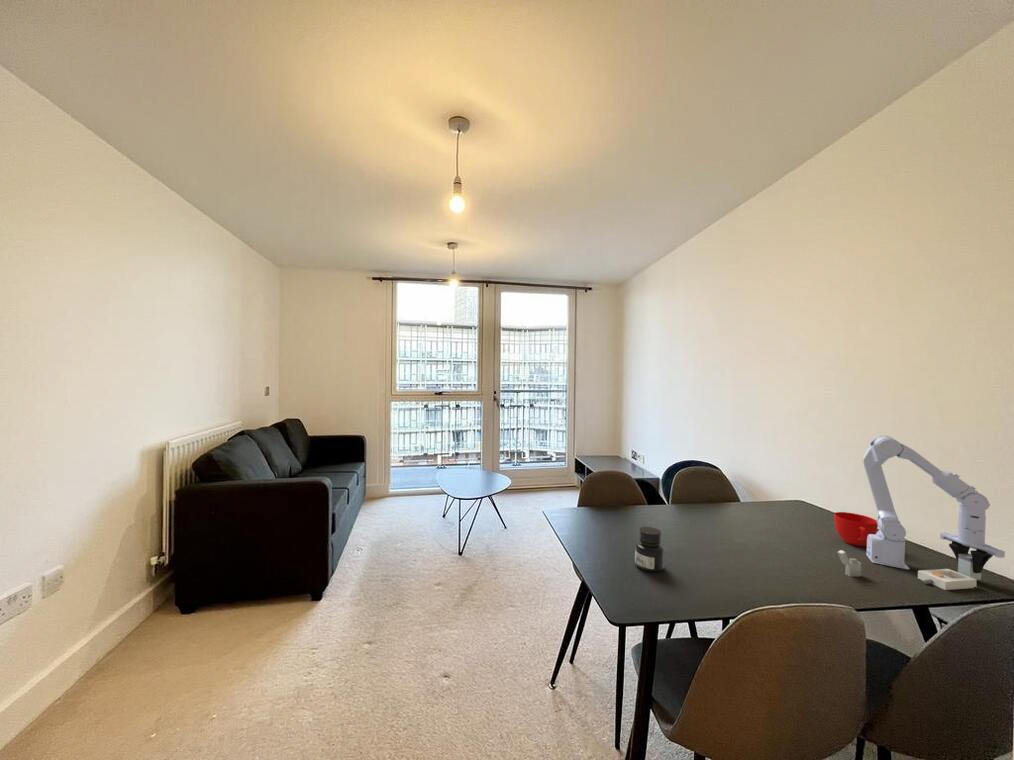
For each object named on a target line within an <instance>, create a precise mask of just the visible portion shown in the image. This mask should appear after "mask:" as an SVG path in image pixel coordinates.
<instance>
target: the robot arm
mask: <svg viewBox="0 0 1014 760" xmlns="http://www.w3.org/2000/svg"><path fill="white" fill-rule="evenodd" d="M868 445H869V446H868V447H867V450H866V451H865V453H864V455H863V457H862V464H863V467H864V470H865V474H866V477H867V480H868V483H869V487H870V491H871V494H872V497H873V500H874V501H873V502H874V504H875V507H876V513H877V519H876V520H877V525H878V529H879V530H877V533H876V534H868V536H867V545H866V554H865V555H866V557H867V558H868V559H869V560H870V562H871V563H874V564H878V565H882V566H883V565H884V566H888V567H893V568H898V569H903V570H907V571H908V570H910V567H909V566H908V565H907V564H906V563H905V552H906V550H905V548H906V538H905V537H906V535H907V531H906V529H905V527H904V526H903V525H902V524H901V521H900V520H899V517H898V515H897V512H896V510H895V506H894V504H893V500H892V497H891V493H890V490H889V487H888V483H887V480H886V476H885V473H884V470H883V467H882V465H883V464H884V463H885V462H887V461H888V460H889V459H891V458H895V457H897V458H898V459H903V460H908V461H909V462H911V463H912V464H914V465H915V466H916V467H918V468H919V469H921V470H922V471H923V472H925V473H926V474H928V475H930V477H932V478H931V479H932V480H931V481H932V483H933V484H934V485H936V486H937V487H939V488H940V489H941V490H942V491H944V492H945V493H946V494H948V495H949V496H950V497H951V498H954V499H956V501H957V503H959V505H958V511H957V513H958V515H957V533H956V534H957V535H956V534H951V533H948V532H940V533H939V534H940V535H939V536H940V537H939V539H941V540H947V541H948V542H951V543H949V544H948V547H949V548H950V550H951V551H952V553H953V554H954V556H955V558H956V561H957V563H958V556H959V554H969V552H970V554H971V555H972V559H973V572H974V573H981V574H982V572H981V571H983V568H984V567H985V565H986V564H987V562H989V560H990V559H991V558H993V556H994V557H996V558H1000V559H1002V558H1005V553H1006V552H1005V551H1004V550H1001V549H999V548H996V547H994V546H991V545H989V544H987V543H985V541H986V518H987V517H986V510H988V509H989V508H990V506H991V503H990V502H989V499H988V498H987V497H986V496H985V495H983V494H982V493H980V492H978V490H976V489H977V488H976V487H974V486H973V485H969V484H968V483H967V482H965V481H964V480H962V479H961V478H960V477H961V476H960V475H959V474H958V473H955V472H954V473H953V472H951V471H950V470H949V471H948V470H942V469H940V468H938V467H937V466H935V465H934V464H933V463H931V462H930V461H929V460H927V459H926V458H925V457H923V456H922V455H921V454H920V453H919V452H917V451H916V450H914V449H913V448H911V447H909V446H907V445H906V444H903V442H902V443H901V442H900V441H898V440H896V439H894V438H893V437H891V436H888V435H879V436H877V437H875V438H874V439H873V440H871V441H870V442H869V444H868ZM970 549H973V550H970Z"/></svg>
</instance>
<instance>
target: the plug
mask: <svg viewBox="0 0 1014 760" xmlns="http://www.w3.org/2000/svg"><path fill="white" fill-rule="evenodd" d="M982 571H983V570H982ZM982 571H981V573H974V572H973V559H972V555H971V553H968V554H959V556H958V562H957V572H958V573H960V574H963V575H966V576H968V577H971V578H974V579H976V580H977V581H980V580H982Z"/></svg>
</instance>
